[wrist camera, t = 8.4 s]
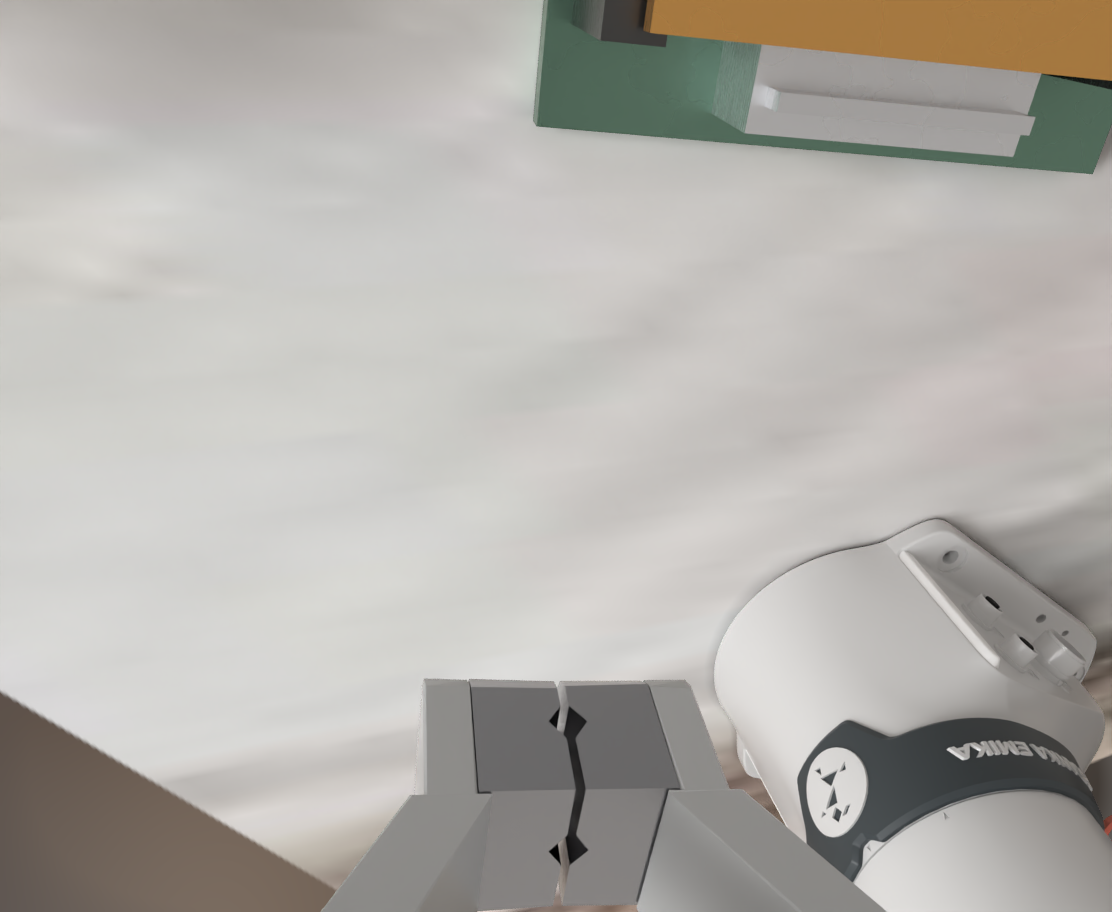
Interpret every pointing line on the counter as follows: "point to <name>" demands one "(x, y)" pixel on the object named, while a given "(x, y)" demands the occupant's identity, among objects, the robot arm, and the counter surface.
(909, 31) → the strap
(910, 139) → the heatsink mount
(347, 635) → the counter surface
